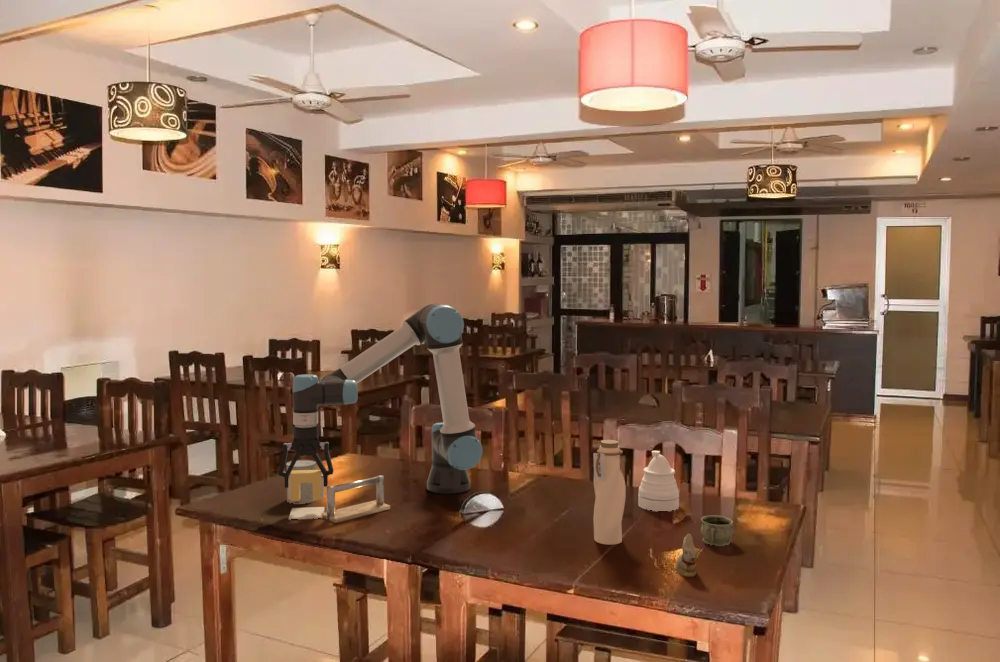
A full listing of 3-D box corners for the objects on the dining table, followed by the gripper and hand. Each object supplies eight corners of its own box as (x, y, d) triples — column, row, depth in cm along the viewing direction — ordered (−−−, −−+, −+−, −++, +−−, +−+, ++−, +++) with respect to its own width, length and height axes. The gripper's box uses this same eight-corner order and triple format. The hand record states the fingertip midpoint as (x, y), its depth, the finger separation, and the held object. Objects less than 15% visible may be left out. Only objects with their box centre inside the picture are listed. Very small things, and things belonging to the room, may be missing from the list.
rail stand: (376, 503, 255) (375, 473, 255) (390, 509, 250) (390, 477, 249) (320, 517, 241) (320, 484, 241) (334, 523, 236) (334, 490, 235)
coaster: (324, 508, 250) (324, 506, 250) (322, 518, 240) (322, 516, 240) (292, 510, 248) (292, 508, 248) (288, 519, 238) (288, 517, 238)
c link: (290, 501, 241) (290, 473, 240) (292, 497, 245) (291, 470, 244) (321, 500, 242) (320, 472, 242) (321, 496, 246) (321, 469, 246)
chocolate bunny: (672, 576, 196) (673, 536, 195) (677, 565, 203) (678, 527, 202) (695, 579, 194) (696, 539, 193) (699, 568, 201) (700, 529, 200)
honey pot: (662, 514, 245) (663, 457, 244) (630, 505, 255) (630, 450, 254) (687, 506, 254) (688, 451, 253) (654, 497, 264) (655, 444, 262)
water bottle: (614, 549, 214) (616, 447, 212) (584, 543, 219) (586, 443, 217) (629, 538, 223) (631, 440, 221) (600, 532, 228) (601, 437, 226)
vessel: (705, 533, 228) (706, 511, 228) (736, 538, 224) (737, 516, 223) (695, 545, 217) (695, 523, 217) (727, 551, 213) (728, 528, 213)
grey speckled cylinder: (299, 505, 253) (298, 468, 252) (280, 500, 259) (280, 463, 258) (322, 499, 260) (322, 462, 259) (304, 494, 266) (303, 458, 265)
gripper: (267, 428, 237) (268, 502, 238) (341, 426, 240) (341, 499, 242) (270, 423, 244) (271, 495, 246) (342, 422, 247) (342, 492, 249)
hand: (306, 497), depth 244 cm, fingers closed on c link, 9 cm apart
